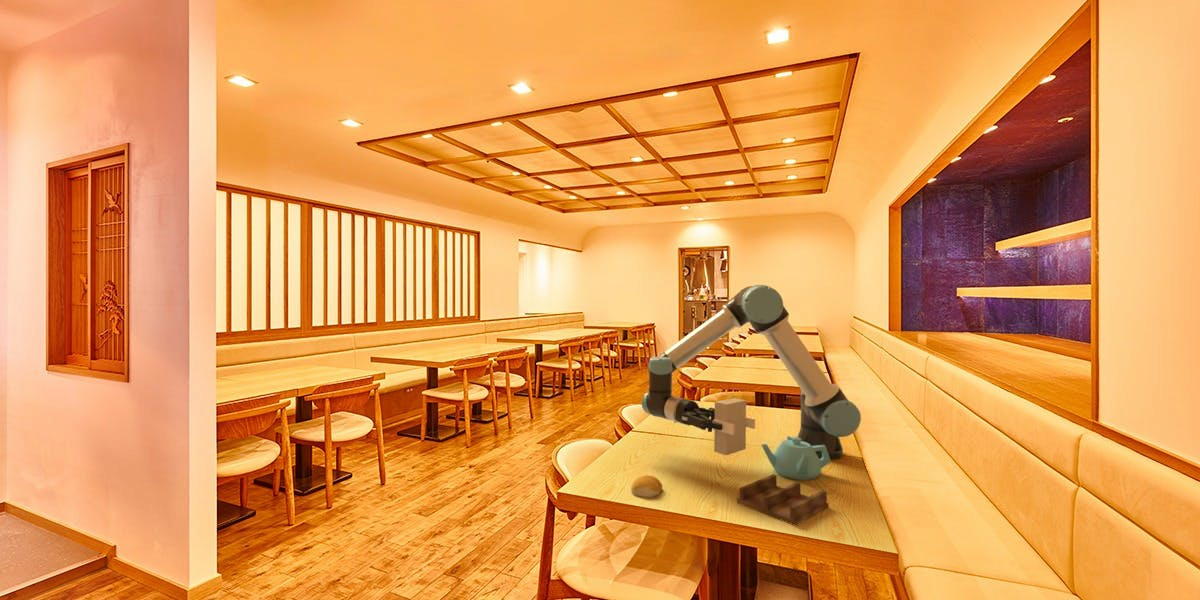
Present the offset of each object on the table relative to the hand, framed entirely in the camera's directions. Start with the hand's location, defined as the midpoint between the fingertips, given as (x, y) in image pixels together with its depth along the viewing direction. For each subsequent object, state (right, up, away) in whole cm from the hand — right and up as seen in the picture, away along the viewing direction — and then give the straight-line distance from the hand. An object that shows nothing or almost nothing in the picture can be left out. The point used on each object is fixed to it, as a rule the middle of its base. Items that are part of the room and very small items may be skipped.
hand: (744, 426), depth 132 cm
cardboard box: (-3, -8, +4) cm, 9 cm away
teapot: (+20, -18, +15) cm, 31 cm away
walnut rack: (+7, -18, -9) cm, 21 cm away
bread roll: (-27, -18, 0) cm, 32 cm away
